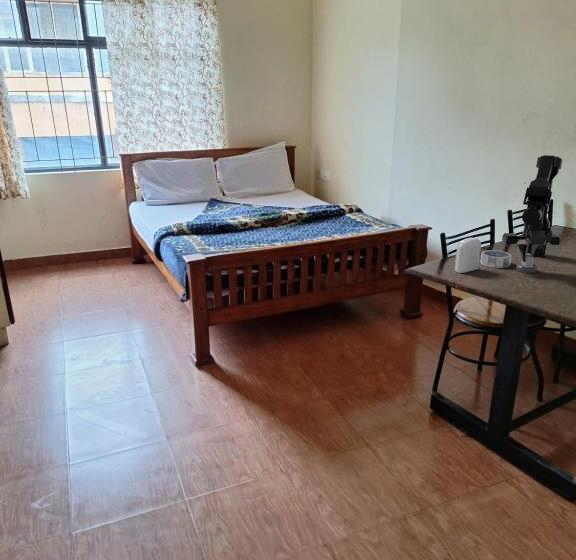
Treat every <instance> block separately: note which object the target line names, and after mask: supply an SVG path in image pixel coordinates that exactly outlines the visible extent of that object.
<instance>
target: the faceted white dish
mask: <svg viewBox="0 0 576 560" xmlns="http://www.w3.org/2000/svg"><path fill="white" fill-rule="evenodd" d="M512 257H513V256H512V253H510V252H508V251H507V252H506V251H502V250H495V249H493V250H491V249H489V250H483V251H482V252H481V251H480V259H479V264H481V265H482V266H485V267H488V268H495V269H496V268H498V269H504V268H505V269H506V268H509V267H510V266H511V263H512Z"/></svg>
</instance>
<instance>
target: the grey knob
mask: <svg viewBox="0 0 576 560" xmlns="http://www.w3.org/2000/svg"><path fill="white" fill-rule="evenodd" d="M534 261H535V258H534V257H533V256H532V255H531V254H526V256H525V262H523V260H522V259H521V262H519V263H517V264H516V266H515V271H517V272H518V273H521V274H528V275H529V274H530V275H531V274H532V275H533V274H536V273H537V270H538V265H536V264H534Z"/></svg>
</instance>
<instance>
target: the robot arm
mask: <svg viewBox="0 0 576 560" xmlns="http://www.w3.org/2000/svg"><path fill="white" fill-rule="evenodd" d="M562 164H563V158H561V157H560V156H555V155H554V154H553V155H551V154H550V155H547V154H543V155H541V156H538V157H537V160H536V165H535V168H537V173H536V176H535V179H534V180H532V181H530V183H529V185H528V187H526V190H525V195H524V198H523V201H522V205H525V206H526V209H525V210H524V211H523V212H522V215H521V219H522V222H523V231H522V232H521V235H517V234H516V233H515V232H510V233H509V232H505V233H503V234H502V238H501V240H502V242H504V243H505V244H508V245H509V244H510V245H517V246H518V250H519V253H520V256H521V261H522V260H523V262H525V256H526V254H531V255H532V256H533V257H534V259H535V258H537V257H538V258H539V257H541V258H547V255H546V250H547V243H549V244H550V245H551V246H559V245H561V241H562V239H561V237H560V236H558V235H557V234H555V233H554V234H553V230H552V227H550V225H551V222H550V220H549V217H548V211H549V207H550V204H551V199H552V195H553V192H552V189H553V181H554V179H555V177H557V175H558V174H559V171H560V170H561V169H562V166H563V165H562Z"/></svg>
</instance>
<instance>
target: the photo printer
mask: <svg viewBox="0 0 576 560" xmlns="http://www.w3.org/2000/svg"><path fill="white" fill-rule="evenodd" d="M481 249H482V242H481V240H480V239H479V238H475V237H468V238H464V239H463V240H460V241H459V242H457V246H456V251H455V252H456V253H455V260H454V261H455V262H454V272H456V273H458V274H462V273H463V274H464V273H468V272H472V271H476V270H478V269H479V265H480V258H481Z"/></svg>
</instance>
